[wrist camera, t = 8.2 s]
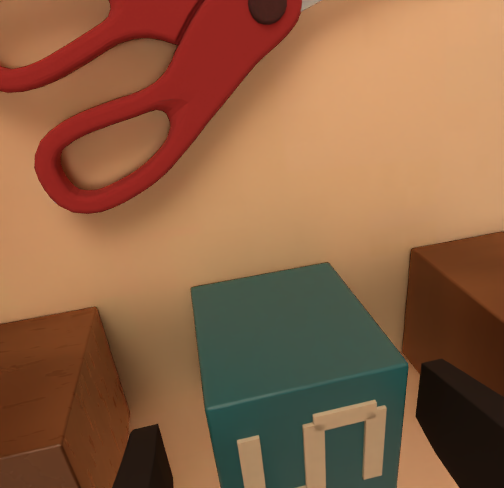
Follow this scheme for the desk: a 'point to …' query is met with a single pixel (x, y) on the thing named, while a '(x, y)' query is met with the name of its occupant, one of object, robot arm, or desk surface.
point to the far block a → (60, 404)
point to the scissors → (164, 89)
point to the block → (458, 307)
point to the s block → (298, 383)
